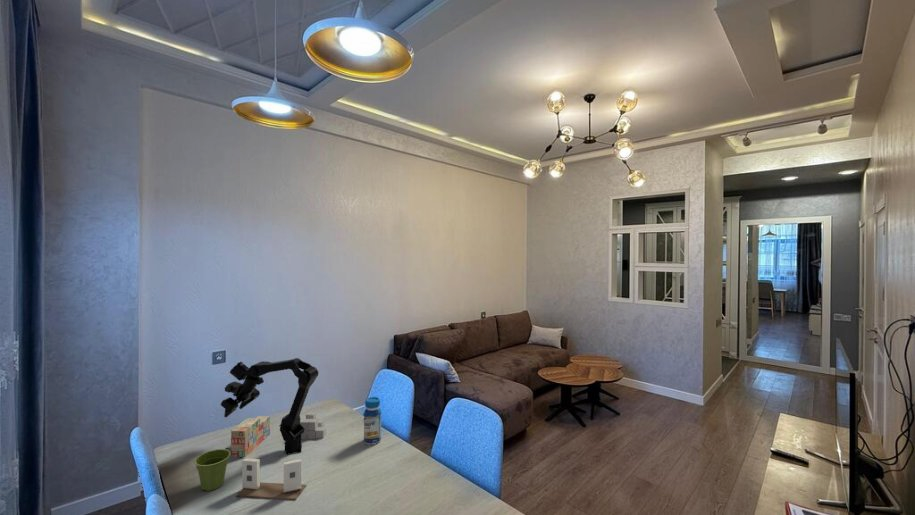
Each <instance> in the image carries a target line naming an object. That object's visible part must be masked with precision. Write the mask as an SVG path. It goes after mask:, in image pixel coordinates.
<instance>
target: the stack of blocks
mask: <svg viewBox="0 0 915 515" xmlns="http://www.w3.org/2000/svg"><path fill="white" fill-rule="evenodd" d="M270 418H271V416H269V415H257V416H256V417H254V418H253V417H252V418H249V417H247V418H245V419H244V420H243V421H242V422H240V423H239V424H238V425H237V426H235V427H234V428H233V429H231V430H230V436H231V438H230V444H231V445H230V446H231V450H230V452H231V455H230V457H245V458H247V457H248V455H250V454H251V453H252V452H253V451H254V450H256V448H257V447H258V446H259V445H260V444H261V443H262V442H264V441H265V440H266V439H267V438H268V437H269V436H270V434H271V422H270Z"/></svg>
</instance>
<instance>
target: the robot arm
mask: <svg viewBox="0 0 915 515" xmlns="http://www.w3.org/2000/svg"><path fill="white" fill-rule="evenodd" d="M285 370H291V371H292V373H293V374H294V376H295V377H296V378H298V379H297V384H298V388H297V391H296V393H295V396H294V399H293V401H292V402H293V403H292V404H291V407H290V409H289V413H288V414H286V415H285V416H283V417H282V419H281V421H280V425H278V426H279V431H280V434H281V437H282V439H283V441H284V452H285V455H290V454H298V453H301V452H302V448H303V444H302V438H301V434H302V433H304V430H305V428H304V427H303V426H302V425H301V424H300V421H301V420H302V418H301V415H300V414H301V412H302V410H303V407H304V404H305V402H306V399H307V395H308V393H309V390H310V387H311V386H312V385H313V384H314V382H315V381H316V379H317V378H318V376H319V370H318V369H317V368H316V367H315V366H313V365H311V364H310V363H308V362H306V361H303V360H301V359H300V358H299V357H295V358H292V359H285V360H280V361H279V360H278V361H273V362H270V361H263V360H262V361H259V362H257V363H255V364H253V365H251V366H249V367H248V366H247V365H246V364H245V363H244V362H243V361H240V362H237V363H236V364H235V365H234V366H233V367H232V368H231V369H230V371H229V374H230V375H231V376H233V377H234V378H235V379H236V380H238V381H243V382H242V383H241V382H238V381H232V382H229V383H227V385H225V387H224V392H225V393H232V396H233V397H235V399H234V398H232V397H227V398H225V399H222V401H221V402H220V406H221V407H222V408H223V409H224V414H223V417H224V418H227V417H230V416H231V414H233V413H234V412H235V411H237V408H239V410H242V409H244V408H245V407H246V406H248V405H249V404H250V403H252V402H253V401H255V400H256V399H257V398H258V397H259V396H260V394H261V393H260V390H258V389H257V386H259V385H261V384H263V383H265V381H264V379H263V377H261V376H264V375H265V374H269V373H274V372H279V371H285Z"/></svg>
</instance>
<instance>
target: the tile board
mask: <svg viewBox="0 0 915 515" xmlns="http://www.w3.org/2000/svg"><path fill="white" fill-rule="evenodd" d="M306 487H307V484H301V489H298V490H294V491H290V492H285V493H284V483H278V482H260V487H259V489H248V488H241V490H240V491H238V492H237V493H236V495H235V498H250V499H251V498H252V499H269V500H271V499H272V500H287V501H288V500H289V501H296V500H297V499H298V498H299V496H300V495H301V494H302V492H303V491H304V490H305V489H306Z"/></svg>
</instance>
